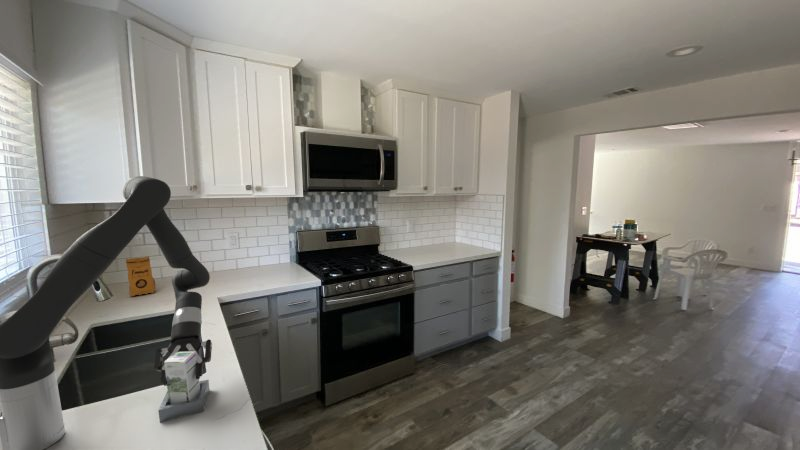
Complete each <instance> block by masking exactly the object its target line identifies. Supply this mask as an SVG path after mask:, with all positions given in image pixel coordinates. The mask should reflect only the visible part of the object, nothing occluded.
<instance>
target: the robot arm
mask: <svg viewBox="0 0 800 450" xmlns="http://www.w3.org/2000/svg"><path fill="white" fill-rule="evenodd" d="M121 188H122V190H121V191H122V195H123V197H124V199H125V201H124V203H123V204H122V205H121V206H120V208H118V210H117V211H115V212H114V213H113V214H112V215H111V216H109V217H108V218H106V219H105V220H103V221H102V222H100V223H98V224H96V225H95V226H94V227H92V228H90V229H88V230H87V231H86V232H85V233H83V234H81V236H79V237H78V238H77V239H76V240H75V241H74V242H73V243H72V244H71V245H70V246H69V247H68V248H67V249H66V250H65V251H64V252H63V253H62V254H61V255H60V257H59V258H58V259H57V260H56V262H55V264H54V265H53V266H52V267H51V269H50V270H49V272H48V273H47V275H46V277H45V279H43V282H42V283H41V285H40V286H39V288H38V289H37V290H36V292H35V293H34V294H33V295H32V296H31V297H30V298H29V299H28V300H27V301H26V302H25V303H24V304H22V306H21V307H19V308H18V309H17V310H14V311H13V310H12V311H9V312H8V313H5V314H3V315H1V316H0V411H1V416H0V444H1V448H2V450H46V449H47V448H49V447H50V446H53V445H54V444H56V443H57V442H58V441H59V440H60V439H62V438H63V436H64V435H65V433H66V429H65V423H64V416H63V410H62V405H61V398H60V392H59V386H58V380H57V374H56V368H55V362H54V357H53V352H52V348H51V342H50V337H51V336H50V335H51V334H52V333H53V332H54V330H55V329H56V327H57V326H58V324H60V322H61V320H62V319H63V317H65V315H66V313H67V312H68V311H69V310H70V308H71V307H72V306H73V305H74V303H75V302H76V301H78V300H79V298H81V296H83V295H84V294H85V293H86V292H87V291H88V290H89V288H91V286H92V285H93V284H94V283H95V282H96V281H97V280H98V279H99V278H100V277H101V276H102V275H103V273H104V272H106V270H107V269H108V268H109V267H110V266H111V265H112V264H113V262H115V260H116V259H117V258H118V257H119V255H120V254H121V253H122V252H123V250H124V249H125V248H126V247H127V246H128V245H129V243H130V242H131V241H132V240H133V239H134V238H135V236H137V234H138V233H139V232H140V231H141V230H142V229H143V227H144V226H146V227H147V228H148V230H149V232H150V233H151V235H152V236H153V238H154V240H155V242H156V243H157V245H158V248H159V249H160V250H161V251H160V252H162V254H163V257H164V258H165V260H166V262H167V264H168V265H169V267H170V268H172V269H181V270H177V271H175V273H174V274H173V275H172V278H171V284H172V287H173V291H174V297H175V306H174V307H175V308H174V315H173V318H172V323H171V324H172V325H171V333H170V334H171V335H170V343H169V345H168V347H163V348H161V347H157V348H156V349H155V358H154V370H156V372H161V376H160V377H161V378H160V383H161V384H162V385H163V386H164V387H167V381H166V373H165V366H164V364H163V363H164V362H163V360H164V357H166V355H167V353H169V354H170V355H169V356H168V358H169V357H170V356H171V355H173V354H174V353H176V352H186V351H196V355H197V360H196V361H197V364H196V379H199V380H200V378H201V377H202V376H203V374H204V372H203V371H204V365H205V364H206V363H209V362H211V360H212V350H213V342H212V340H211V339H207V340H205V341H201V336H202V335H201V334H202V333H201V332H202V323H203V321H202V319H203V318H202V317H203V316H202V302H203V296H202V295H201V293H199V292H197V291H190V290H193V289H194V290H195V289H199V288H202V287H205V286H207V285H208V284H209V282H210V279H211V277H210V275H211V274H210V272H209V270H208V269H207V268H206V267H205V265H204V264H203V263H201V262H200V261H199V259H197V257H196V256H195V255H194V254H193V252H192V250H191V248H190V247H189V244H188V242H187V240H186V238H185V237H184V235H183V234H182V233H181V231H180V230H179V229H178V228H177V227H176V225H175V224H174V223H173V222H172V220H171V219H170V218H169V216H168V215H167V212H166V210H165V209H164V208H165V207H166V206H167V205H168V203H169V202H170V200H171V197H172V196H171V195H172V193H171V188H170V186H169V185H168V183H166V182H165V181H164V180H161V179H158V178H153V177H150V176H143V175H136V176H133V177H129V178H128V179H127V180H126V181H124V183H123V185H122V187H121ZM201 348H203V349H205V351H204V353H205V354H204V357H201V356H200V355H199V354H198V351H199V350H200V349H201Z"/></svg>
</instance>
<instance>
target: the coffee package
mask: <svg viewBox="0 0 800 450" xmlns="http://www.w3.org/2000/svg"><path fill="white" fill-rule="evenodd" d="M125 263H126V269H127V280H128V284H129V287H128V288H129V290H128V291H129V292H128V293H129V296H130V297H136V296H135V295H139V296H143V295H142V294H147V295H149V294H148V293H152V294H155V292H156V291H157V289H156V281H155V279H154V277H153V273H152V272H153V271H152V267H151V260H150V256H143V257H142V256H141V257H135V258H134V257H133V258H125ZM155 290H156V291H155ZM154 291H155V292H154Z"/></svg>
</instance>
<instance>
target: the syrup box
mask: <svg viewBox="0 0 800 450" xmlns="http://www.w3.org/2000/svg"><path fill="white" fill-rule="evenodd" d="M170 355H171V354H170ZM170 355H169V356H170ZM169 356H168V358H167V359H165V360H164V362H163V363H164V364H163V365H164V366H165V373H166V381H167V386H166V388H167V391H168V397H169V405H172V404H176V403H181V402H185V401H189V400H194V399H198V398H199V395H200V392H201V391H200V384H199V381H200V379H196V364H198V362H197V361H196V360H197V355H196V351H186V352H176V353H174V354H173V355H171V356H170V357H169Z"/></svg>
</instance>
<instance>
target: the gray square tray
mask: <svg viewBox="0 0 800 450" xmlns="http://www.w3.org/2000/svg"><path fill="white" fill-rule="evenodd" d="M199 384H200V391H201V392H200V395H199V398H198V399H194V400H189V401H185V402H181V403H176V404H172V405H169V397H168V390H167V391H166V392H165V395H164V397H163V400H162V402H161V404H160V406H159V408H158V409H157V410H158V418H159V419H158V420H159V423H162V422H167V421H170V420H174V419H179V418H182V417H187V416H191V415H195V414H199V413H203V412H205V408H206V405H207V401H208V397H209V393H210V390H211V389H210V382H209V379H206V380H205V379H204V380H199Z"/></svg>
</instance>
